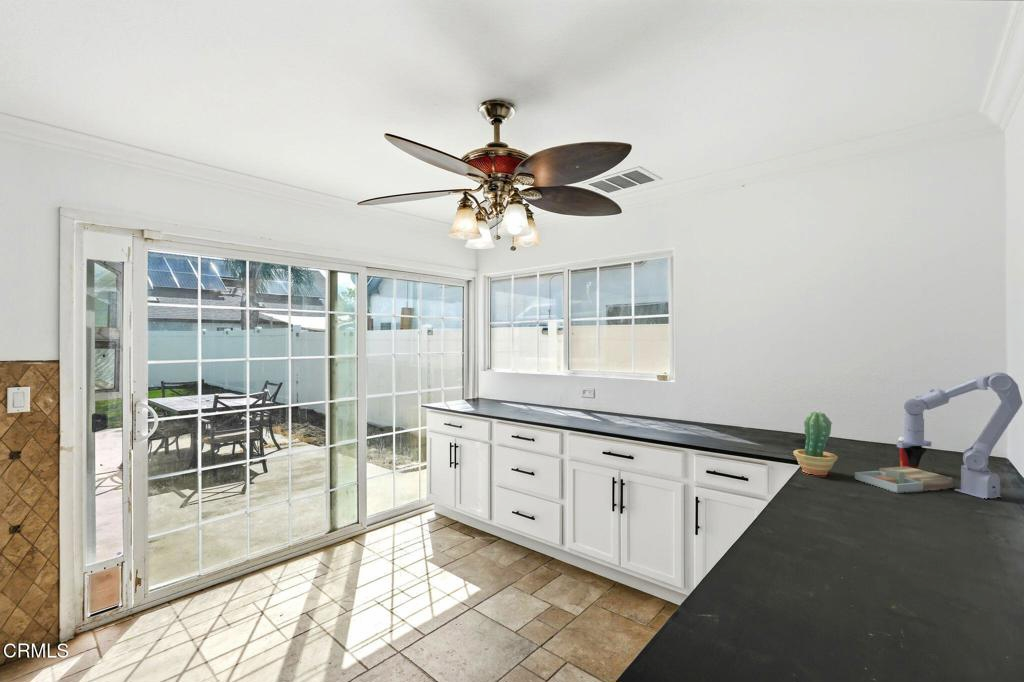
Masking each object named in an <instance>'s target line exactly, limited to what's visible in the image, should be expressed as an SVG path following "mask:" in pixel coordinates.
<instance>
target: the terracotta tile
mask: <svg viewBox="0 0 1024 682" xmlns="http://www.w3.org/2000/svg"><path fill="white" fill-rule="evenodd" d="M873 477H874V478H878V479H881V480H885V481H888V482H891V483H895V484H897V479H895V478H892V477H888V476H885V475H879V476H873Z"/></svg>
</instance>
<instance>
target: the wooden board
mask: <svg viewBox="0 0 1024 682" xmlns="http://www.w3.org/2000/svg"><path fill="white" fill-rule="evenodd" d="M878 469H879V470H878V471H882V472H886V469H895V470H898V471H902V472H904V478H907V479H911V480H915V481H918V482H922V483H923V491H922V492H927V491H928V490H929V491H930V490H931V491H941V490H940V489H943V490H949V489H948V488H952V489H953V477H951V476H946V475H942V474H938V473H935V472H931V471H927V470H922V469H915V468H911V467H907V466H906V467H901V466H895V467H893V466H892V467H879V468H878ZM931 491H930V492H931Z"/></svg>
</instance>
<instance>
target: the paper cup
mask: <svg viewBox="0 0 1024 682" xmlns="http://www.w3.org/2000/svg"><path fill="white" fill-rule="evenodd" d="M902 440H904V435H901V436H899V437H898V439H897V441H898V442H901V441H902ZM898 449H899V463H900V464H899V465H900V466H899V467H906V466H907V467H911V468H915V469H919V468H920V464H919V465H918V466H917V467H915V466H911V465H910V463H909V460H908V457H907V455H906V453H905V451H904V450H903V448H899V447H898ZM919 470H920V469H919Z"/></svg>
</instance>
